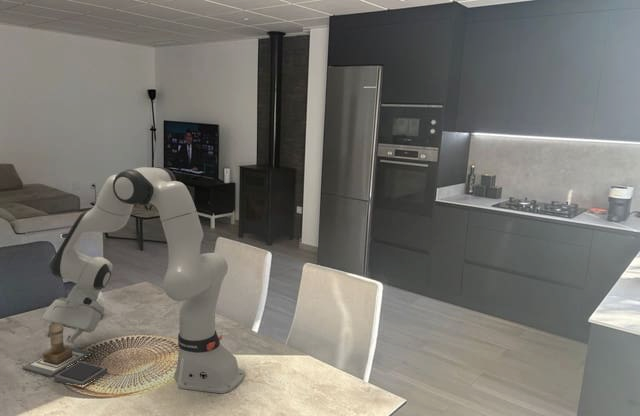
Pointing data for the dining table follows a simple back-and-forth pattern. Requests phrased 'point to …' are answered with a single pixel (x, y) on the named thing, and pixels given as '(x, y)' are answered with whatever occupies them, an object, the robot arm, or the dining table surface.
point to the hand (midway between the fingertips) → (58, 339)
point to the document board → (52, 369)
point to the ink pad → (80, 373)
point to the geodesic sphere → (100, 299)
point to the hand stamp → (57, 347)
